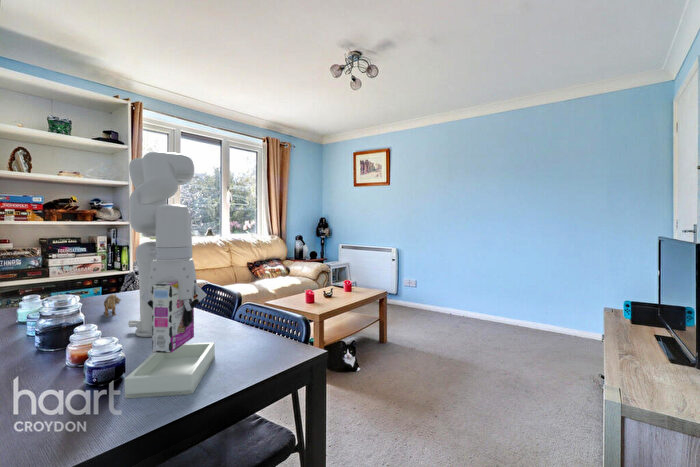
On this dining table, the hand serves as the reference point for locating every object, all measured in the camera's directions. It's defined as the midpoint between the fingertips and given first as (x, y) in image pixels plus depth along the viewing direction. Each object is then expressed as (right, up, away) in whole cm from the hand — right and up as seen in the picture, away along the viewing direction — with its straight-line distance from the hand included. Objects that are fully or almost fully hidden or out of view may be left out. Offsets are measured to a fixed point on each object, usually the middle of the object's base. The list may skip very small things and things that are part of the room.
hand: (174, 325), depth 84 cm
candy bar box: (0, -5, 0) cm, 5 cm away
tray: (0, -13, +1) cm, 13 cm away
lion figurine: (-55, -11, +55) cm, 78 cm away
